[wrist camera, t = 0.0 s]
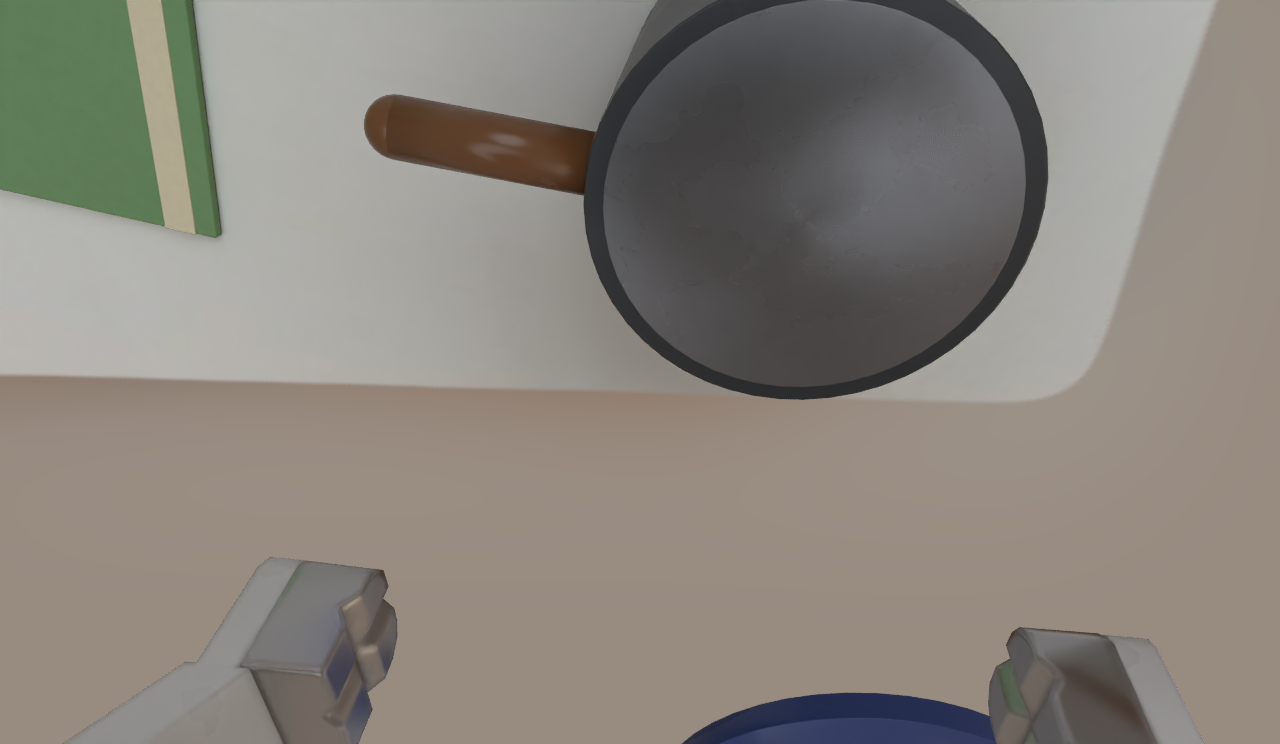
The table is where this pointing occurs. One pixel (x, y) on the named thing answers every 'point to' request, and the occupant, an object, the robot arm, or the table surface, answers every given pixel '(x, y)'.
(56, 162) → the green book
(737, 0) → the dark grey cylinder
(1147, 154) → the table surface
